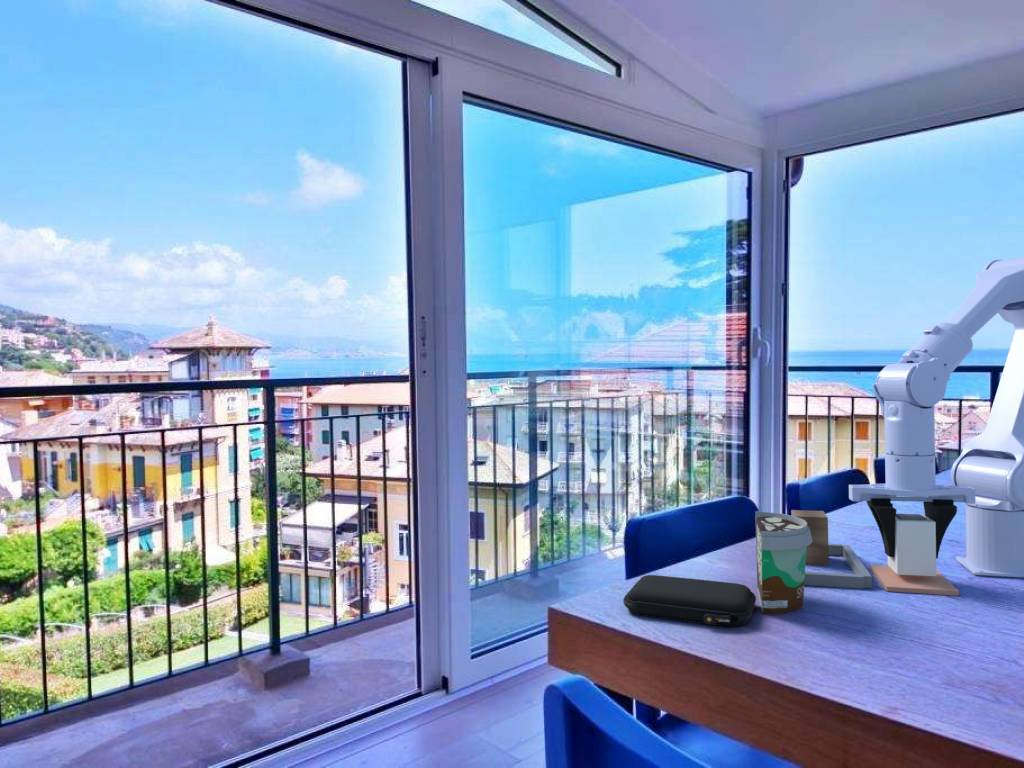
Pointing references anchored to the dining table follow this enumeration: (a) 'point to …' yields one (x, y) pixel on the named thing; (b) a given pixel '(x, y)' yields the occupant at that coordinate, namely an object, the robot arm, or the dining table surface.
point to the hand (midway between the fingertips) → (911, 555)
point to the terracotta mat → (913, 582)
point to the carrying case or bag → (691, 600)
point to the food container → (781, 561)
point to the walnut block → (816, 536)
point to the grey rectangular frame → (842, 580)
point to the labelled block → (914, 545)
